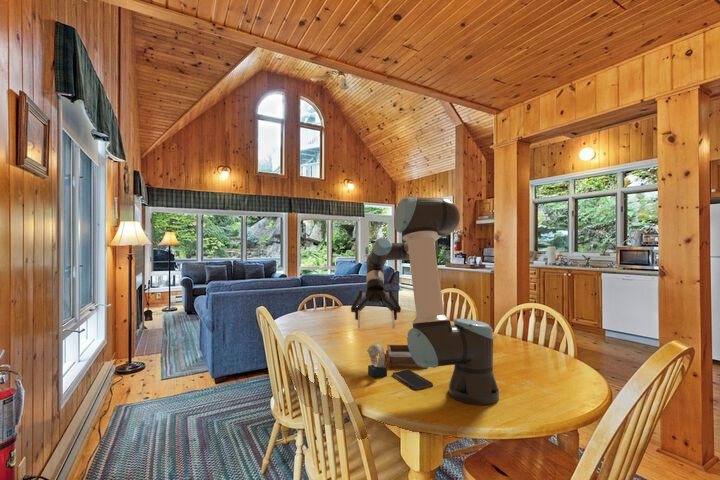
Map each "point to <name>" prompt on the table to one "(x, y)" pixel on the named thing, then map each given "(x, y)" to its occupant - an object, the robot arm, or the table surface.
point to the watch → (377, 367)
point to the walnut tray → (400, 357)
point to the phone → (412, 380)
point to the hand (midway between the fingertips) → (376, 326)
